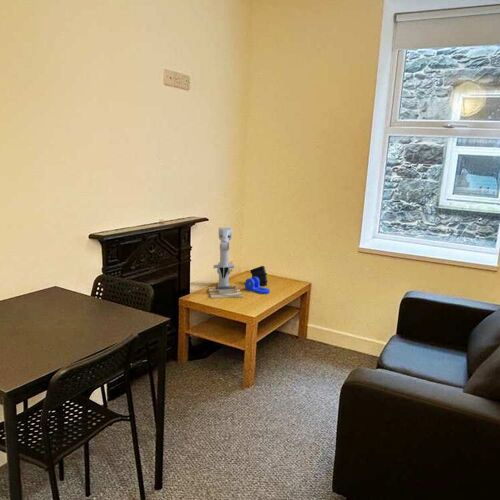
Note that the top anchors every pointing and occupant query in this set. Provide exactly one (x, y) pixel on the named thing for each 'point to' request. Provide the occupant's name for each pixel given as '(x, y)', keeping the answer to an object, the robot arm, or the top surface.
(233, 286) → the lugs
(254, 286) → the bracket
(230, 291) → the heat sink
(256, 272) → the black rectangular slab
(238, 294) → the board
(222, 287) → the retention strap
